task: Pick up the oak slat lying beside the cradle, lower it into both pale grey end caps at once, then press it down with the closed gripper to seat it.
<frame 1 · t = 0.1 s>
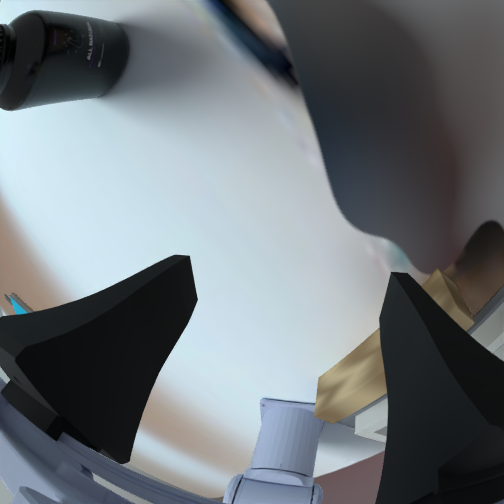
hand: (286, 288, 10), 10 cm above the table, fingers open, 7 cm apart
phone stand: (36, 322, 41), on the table
slat: (381, 337, 23), on the table
supplement bottle: (101, 58, 16), on the table
cradle: (442, 373, 23), on the table
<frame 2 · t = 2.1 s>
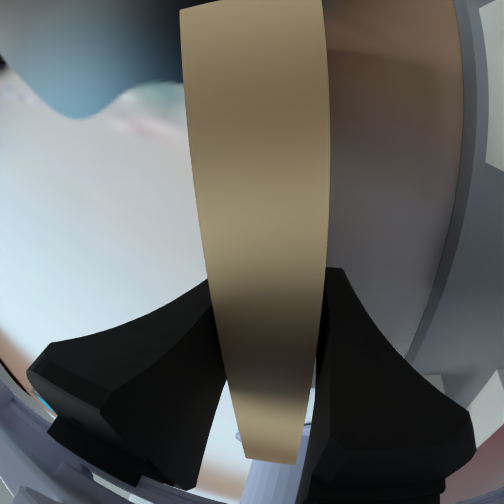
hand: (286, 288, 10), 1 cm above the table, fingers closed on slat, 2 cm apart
phone stand: (63, 409, 39), on the table
slat: (292, 265, 11), on the table, touching gripper
photo printer: (154, 484, 54), on the table
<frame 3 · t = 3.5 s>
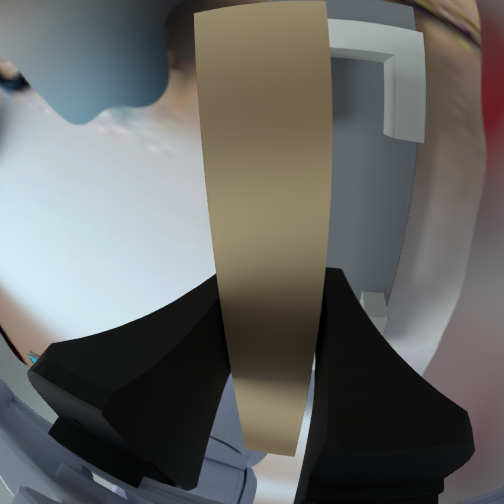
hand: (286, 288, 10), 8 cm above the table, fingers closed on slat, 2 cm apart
phone stand: (55, 371, 47), on the table
slat: (292, 259, 12), point 6 cm above the table, touching gripper
cradle: (340, 211, 17), on the table
when the fingers open (4 cm above the table, at t = 4.8 s): slat stays where it is, resting on cradle.
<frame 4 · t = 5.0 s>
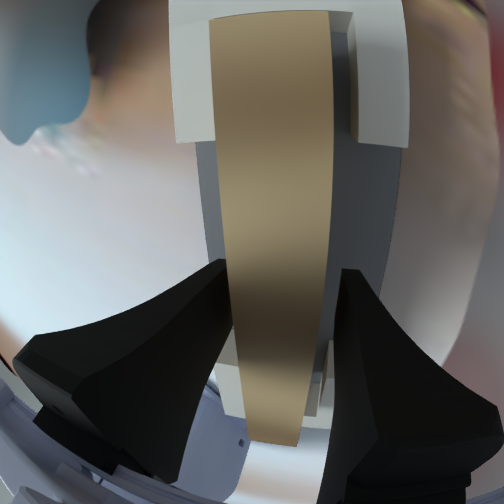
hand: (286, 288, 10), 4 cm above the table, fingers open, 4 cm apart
slat: (295, 252, 12), point 1 cm above the table, touching cradle
cradle: (297, 242, 13), on the table
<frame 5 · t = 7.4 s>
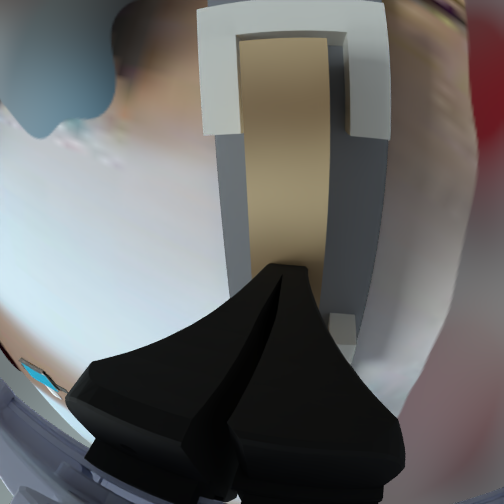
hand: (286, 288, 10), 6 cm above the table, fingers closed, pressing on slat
phone stand: (45, 377, 45), on the table
slat: (299, 230, 14), point 1 cm above the table, touching cradle, gripper
cradle: (301, 223, 15), on the table
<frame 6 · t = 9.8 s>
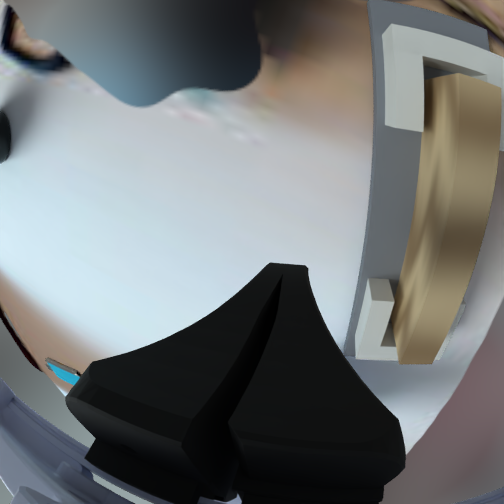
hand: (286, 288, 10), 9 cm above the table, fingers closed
phone stand: (75, 378, 46), on the table
slat: (430, 212, 15), point 1 cm above the table, touching cradle
supplement bottle: (1, 135, 21), on the table
cradle: (425, 207, 16), on the table
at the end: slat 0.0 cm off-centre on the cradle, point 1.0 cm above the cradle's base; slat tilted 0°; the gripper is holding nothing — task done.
